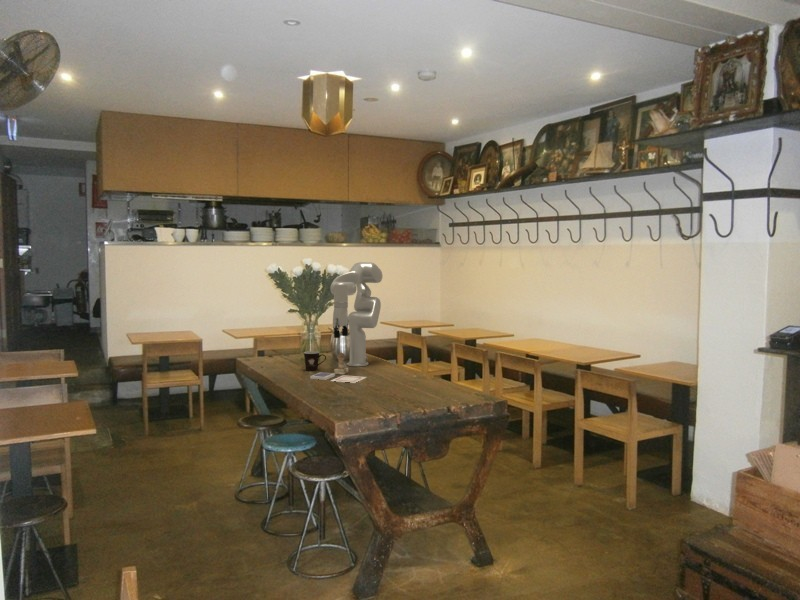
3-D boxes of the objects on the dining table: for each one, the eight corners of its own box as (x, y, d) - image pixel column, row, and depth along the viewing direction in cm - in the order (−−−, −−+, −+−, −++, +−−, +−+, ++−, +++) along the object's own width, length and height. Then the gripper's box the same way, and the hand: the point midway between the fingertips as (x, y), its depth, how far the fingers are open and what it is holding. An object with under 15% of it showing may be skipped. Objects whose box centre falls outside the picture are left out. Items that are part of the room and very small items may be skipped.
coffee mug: (301, 370, 348) (301, 353, 347) (308, 368, 356) (308, 350, 355) (320, 372, 344) (319, 354, 344) (326, 369, 352) (326, 352, 352)
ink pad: (320, 374, 337) (320, 372, 337) (335, 376, 334) (335, 373, 334) (310, 378, 327) (310, 375, 327) (325, 380, 324) (325, 377, 324)
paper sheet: (343, 375, 335) (343, 375, 335) (366, 377, 330) (366, 376, 330) (330, 381, 321) (330, 380, 321) (354, 383, 316) (354, 382, 316)
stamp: (339, 372, 344) (339, 351, 343) (348, 373, 342) (348, 352, 341) (334, 374, 338) (334, 353, 337) (343, 375, 336) (343, 353, 335)
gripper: (341, 304, 346) (341, 334, 347) (327, 306, 330) (327, 338, 331) (353, 304, 343) (353, 335, 345) (340, 306, 327) (340, 339, 328)
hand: (340, 336), depth 338 cm, fingers open, 9 cm apart
